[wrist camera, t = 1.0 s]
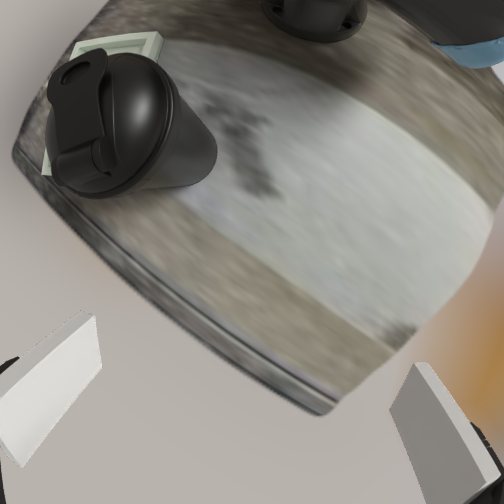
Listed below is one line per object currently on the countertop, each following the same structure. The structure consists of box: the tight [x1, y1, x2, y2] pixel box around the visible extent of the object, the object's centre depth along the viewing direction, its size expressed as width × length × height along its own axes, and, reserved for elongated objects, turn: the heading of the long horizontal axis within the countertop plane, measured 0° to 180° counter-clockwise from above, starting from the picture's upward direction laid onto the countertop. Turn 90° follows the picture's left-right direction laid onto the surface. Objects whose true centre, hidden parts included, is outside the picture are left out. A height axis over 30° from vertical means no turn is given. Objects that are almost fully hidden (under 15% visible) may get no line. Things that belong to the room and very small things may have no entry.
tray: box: [42, 31, 164, 176], centre depth 31 cm, size 22×15×3 cm
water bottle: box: [45, 48, 217, 199], centre depth 23 cm, size 10×10×23 cm
